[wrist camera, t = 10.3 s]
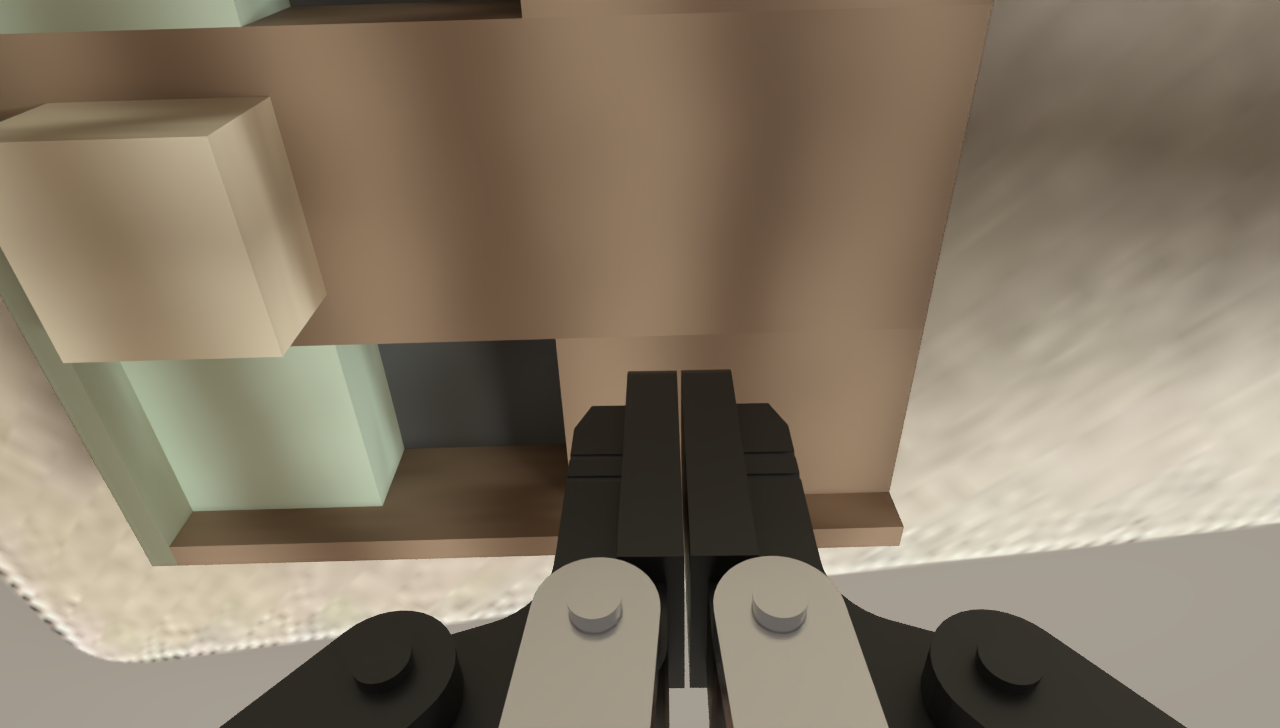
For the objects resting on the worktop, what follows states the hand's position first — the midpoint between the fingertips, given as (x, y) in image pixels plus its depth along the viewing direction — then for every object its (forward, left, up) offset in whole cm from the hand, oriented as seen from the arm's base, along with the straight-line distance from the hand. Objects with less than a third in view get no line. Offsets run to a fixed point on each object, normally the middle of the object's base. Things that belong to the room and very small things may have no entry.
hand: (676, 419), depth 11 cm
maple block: (+11, 0, -9) cm, 14 cm away
